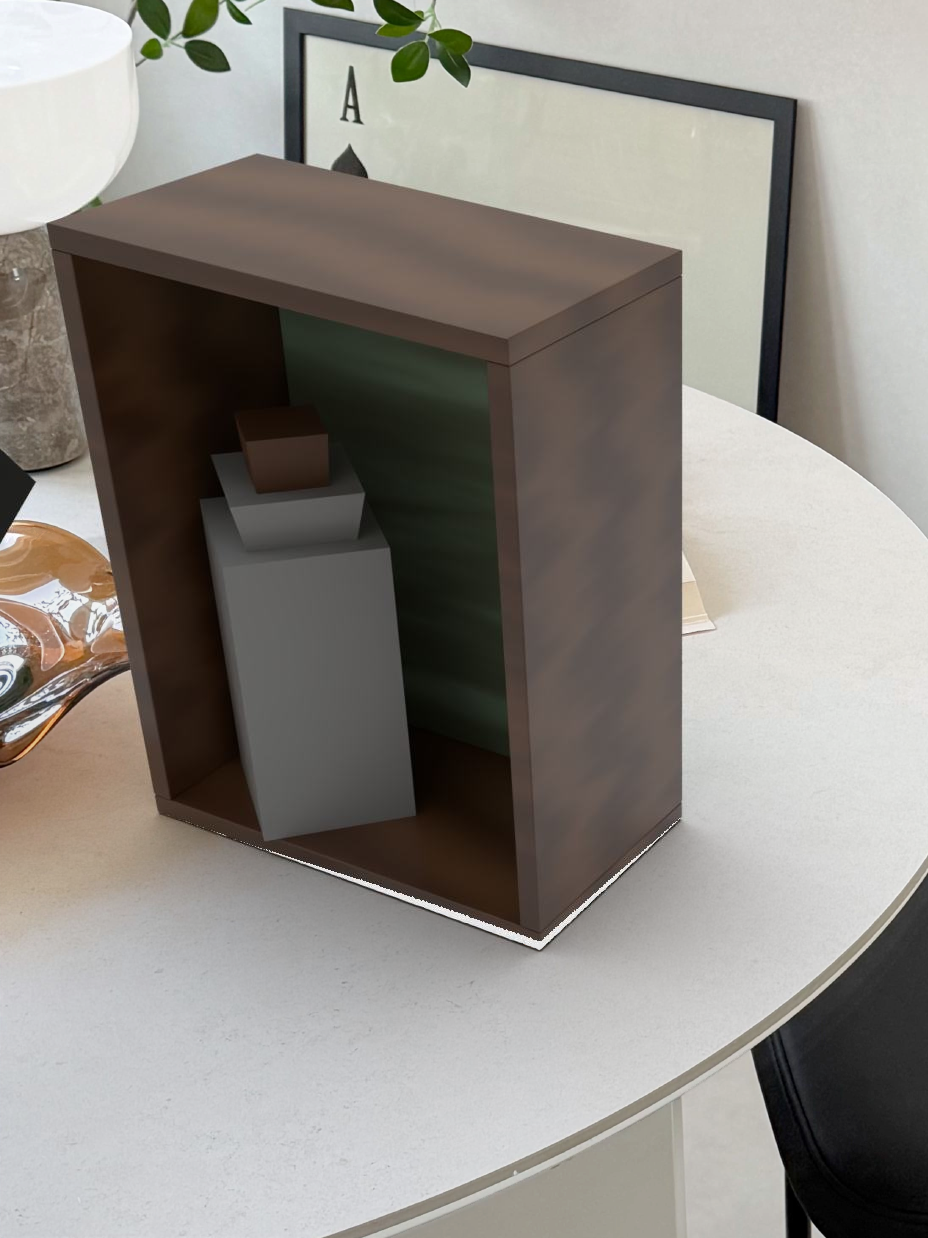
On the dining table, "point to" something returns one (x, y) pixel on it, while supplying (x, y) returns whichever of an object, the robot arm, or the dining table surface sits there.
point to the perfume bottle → (307, 629)
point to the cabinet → (408, 503)
